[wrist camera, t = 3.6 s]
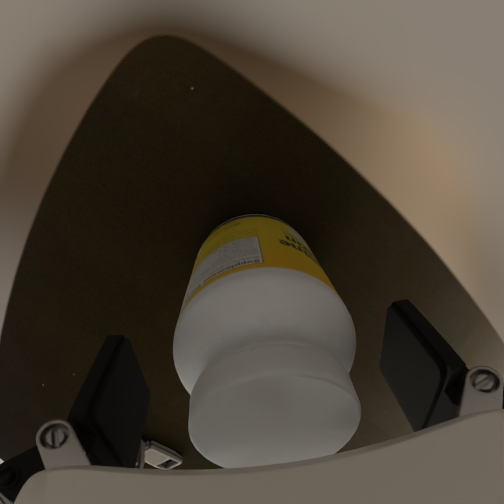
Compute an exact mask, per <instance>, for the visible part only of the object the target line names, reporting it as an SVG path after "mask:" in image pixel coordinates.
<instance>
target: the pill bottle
mask: <svg viewBox="0 0 504 504" xmlns="http://www.w3.org/2000/svg"><path fill="white" fill-rule="evenodd" d="M355 352H356V334H355V328H354V324H353V321H352V318H351V316H350V314H349V312H348V310H347V308H346V306H345V304H344V303H343V301H342V300H341V298H340V296H339V295H338V293H337V292H336V290H335V288H334V287H333V285H332V284H331V282H330V280H329V279H328V277H327V276H326V274H325V272H324V271H323V269H322V268H321V266H320V264H319V263H318V261H317V260H316V258H315V256H314V255H313V253H312V252H311V250H310V249H309V247H308V245H307V244H306V242H305V241H304V239H303V238H302V236H301V235H300V234H299V233H298V232H297V231H296V230H295V229H294V228H293V227H291V226H290V225H289V224H287V223H285V222H284V221H282V220H280V219H278V218H275V217H271V216H268V215H262V214H249V215H242V216H238V217H235V218H232V219H230V220H228V221H226V222H224V223H222V224H221V225H219V226H218V227H217V228H215V229H214V230H213V231H212V232H211V233H210V234H209V235H208V237H207V238H206V239H205V241H204V242H203V244H202V246H201V248H200V250H199V252H198V255H197V258H196V262H195V265H194V268H193V272H192V275H191V278H190V281H189V284H188V288H187V291H186V294H185V298H184V301H183V305H182V308H181V312H180V315H179V318H178V322H177V326H176V330H175V334H174V342H173V356H174V362H175V367H176V370H177V373H178V375H179V378H180V380H181V382H182V384H183V385H184V387H185V388H186V390H187V391H188V392H189V394H190V395H191V397H190V411H189V425H188V429H189V435H190V438H191V441H192V443H193V444H194V446H195V448H196V449H197V450H198V451H199V452H200V453H201V454H202V455H203V456H204V457H205V458H207V459H208V460H210V461H211V462H213V463H215V464H217V465H219V466H221V467H224V468H227V469H228V468H242V467H253V466H263V465H272V464H280V463H287V462H294V461H300V460H306V459H312V458H317V457H322V456H327V455H332V454H334V453H336V452H337V451H338V450H340V449H341V448H342V447H343V446H344V445H345V444H346V443H347V442H348V441H349V440H350V439H351V437H352V436H353V434H354V433H355V431H356V429H357V427H358V424H359V422H360V418H361V406H360V402H359V398H358V396H357V394H356V391H355V389H354V386H353V384H352V381H351V379H350V376H349V372H350V369H351V367H352V364H353V361H354V357H355Z"/></svg>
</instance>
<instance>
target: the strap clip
mask: <svg viewBox="0 0 504 504" xmlns="http://www.w3.org/2000/svg"><path fill="white" fill-rule="evenodd" d="M169 459H171V460H173V461H171V462H169V463H165V461H167V460H169ZM145 462H147V463H149V464H151V465H153V466H154V467H157V468H160V469H165V470H169V469H171V468H173V467H175V466H177V465H179V464H181V463H182V457H181V456H180V455H179V454H178V453H177V452H175V451H174V450H172V449H170V448H168V447H165V446H163V445H161V444H159V443H157V442H155V441H151V442H150V441H149V440H148V441H147V442H144V441H143V440H142V439H141V442H140V447H139V451H138V456H137V461H136V465H138V467H137V468H138V469H143V466H144V463H145ZM136 465H135V466H136Z"/></svg>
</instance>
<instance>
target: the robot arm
mask: <svg viewBox="0 0 504 504" xmlns="http://www.w3.org/2000/svg"><path fill="white" fill-rule="evenodd" d="M465 365H466V364H465V363H464V361H463V360H462V359H461V358H460V357H459V356H458V354H457V353H456V352H455V351H454V350H453V349H452V347H451V346H450V345H449V344H448V343H447V342H446V341H445V339H444V338H443V337H442V336H441V335H440V334H439V333H438V332H437V330H436V329H435V328H434V327H433V326H432V325H431V324H430V323H429V322H428V320H427V319H426V318H425V317H424V316H423V315H422V314H421V313H420V312H419V311H418V310H417V309H416V307H415V306H414V305H413V304H412V303H411V302H410V301H409V300H407V299H405V300H400V301H395V302H393V303H392V304H391V306H390V307H388V309H387V316H386V324H385V332H384V339H383V345H382V352H381V358H380V369H381V372H382V374H383V375H384V377H385V379H386V381H387V383H388V384H389V386H390V388H391V390H392V392H393V393H394V395H395V397H396V399H397V401H398V403H399V404H400V406H401V408H402V410H403V412H404V414H405V415H406V417H407V419H408V421H409V423H410V425H411V427H412V429H413V431H414V433H410V434H407V435H404V436H401V437H398V438H394V439H391V440H388V441H384V442H381V443H377V444H374V445H370V446H366V447H362V448H358V449H354V450H350V451H346V452H341V453H337V454H332V455H327V456H322V457H317V458H312V459H306V460H300V461H294V462H287V463H280V464H272V465H263V466H253V467H242V468H228V469H207V470H163V469H138V468H135V465H136V461H137V456H138V451H139V447H140V442H141V438H142V433H143V429H144V425H145V421H146V416H147V412H148V408H149V404H150V399H151V396H150V391H149V388H148V386H147V384H146V381H145V379H144V376H143V374H142V371H141V369H140V366H139V364H138V361H137V358H136V356H135V353H134V351H133V348H132V345H131V342H130V340H129V339H125V337H124V336H123V335H109V336H107V338H106V340H105V341H104V343H103V345H102V347H101V349H100V351H99V353H98V355H97V357H96V359H95V361H94V363H93V365H92V367H91V369H90V371H89V373H88V375H87V377H86V379H85V381H84V383H83V385H82V387H81V389H80V391H79V393H78V396H77V398H76V400H75V402H74V404H73V406H72V408H71V411H70V413H69V416H68V418H67V420H66V421H65V420H61V419H56V420H52V421H49V422H47V423H45V424H44V425H43V426H42V427H41V428H40V429H39V431H38V432H37V435H36V443H37V445H36V446H35V447H33V448H31V449H29V450H27V451H25V452H23V453H21V454H19V455H17V456H15V457H13V458H11V459H9V460H7V461H5V462H3V463H2V464H0V504H504V386H503V378H502V377H501V375H500V374H499V373H498V372H497V371H496V370H495V369H493V368H491V367H487V366H476V367H473V368H471V369H470V370H468V368H467V367H466V366H465Z"/></svg>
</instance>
